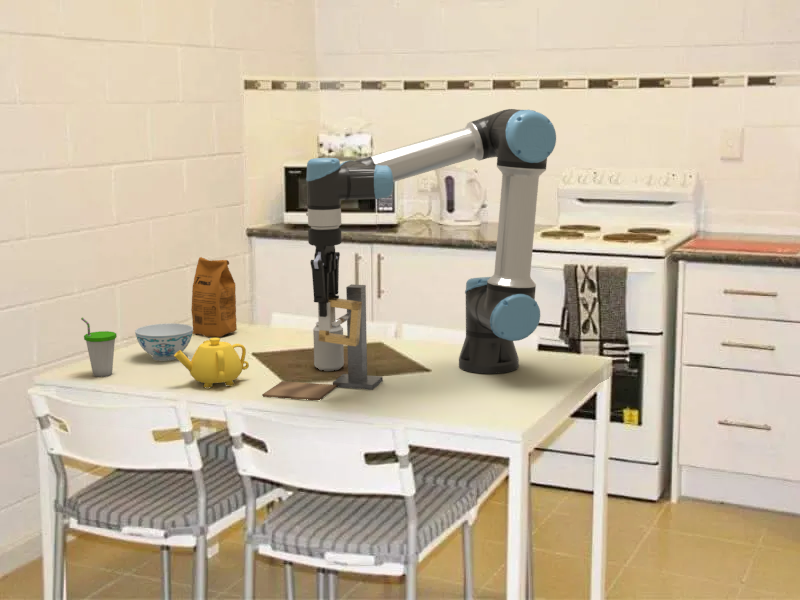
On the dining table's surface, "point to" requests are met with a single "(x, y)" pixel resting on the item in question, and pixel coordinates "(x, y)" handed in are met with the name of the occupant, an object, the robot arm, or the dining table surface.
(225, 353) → the teapot
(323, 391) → the walnut board
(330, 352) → the can
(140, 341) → the chinaware
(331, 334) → the c link
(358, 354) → the stand
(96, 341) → the cup
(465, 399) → the dining table surface
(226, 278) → the coffee package
